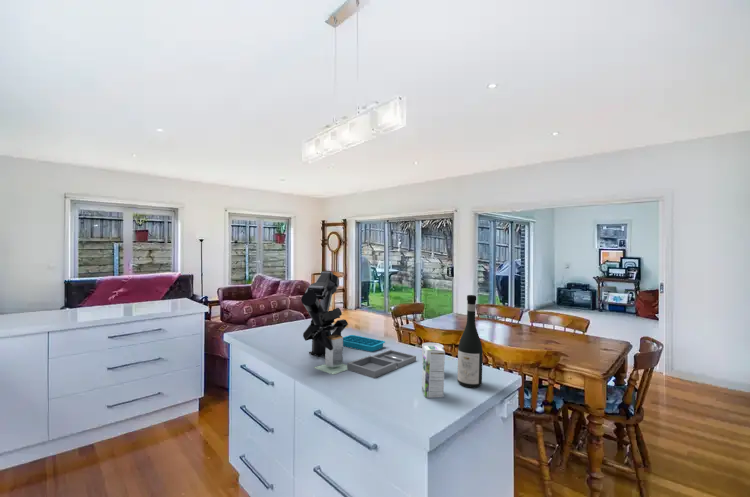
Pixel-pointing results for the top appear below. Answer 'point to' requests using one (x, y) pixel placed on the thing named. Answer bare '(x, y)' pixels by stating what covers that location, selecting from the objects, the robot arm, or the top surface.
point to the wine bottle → (470, 350)
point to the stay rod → (393, 358)
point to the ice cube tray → (362, 343)
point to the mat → (332, 369)
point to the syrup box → (433, 371)
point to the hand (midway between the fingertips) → (336, 348)
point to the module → (334, 351)
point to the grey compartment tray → (380, 363)
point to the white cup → (430, 344)
